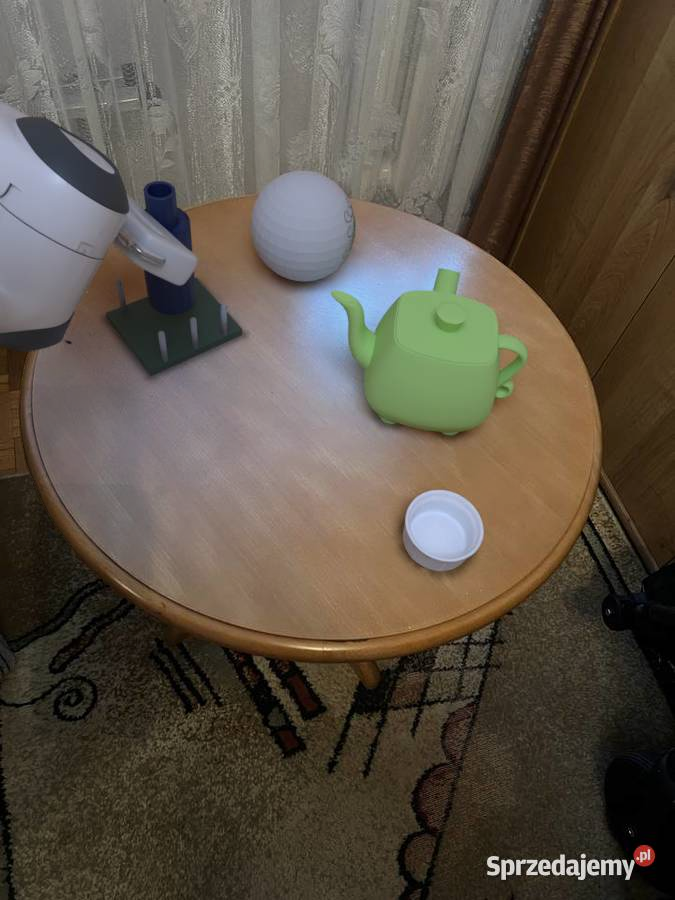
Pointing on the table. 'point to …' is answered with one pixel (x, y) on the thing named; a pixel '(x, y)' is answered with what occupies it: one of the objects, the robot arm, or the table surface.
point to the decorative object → (303, 225)
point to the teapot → (433, 358)
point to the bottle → (177, 222)
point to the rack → (172, 329)
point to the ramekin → (441, 530)
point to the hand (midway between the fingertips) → (169, 240)
